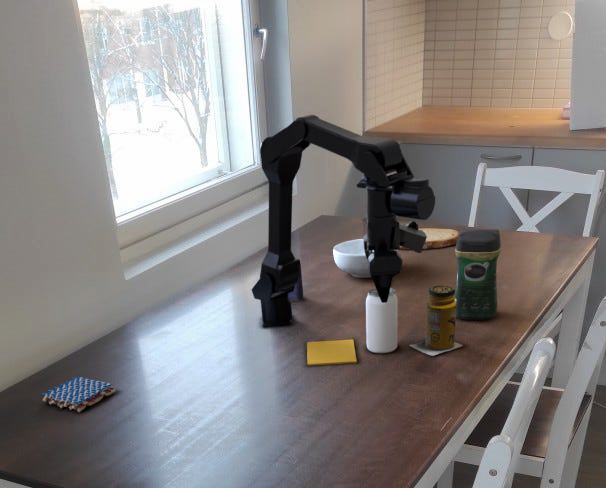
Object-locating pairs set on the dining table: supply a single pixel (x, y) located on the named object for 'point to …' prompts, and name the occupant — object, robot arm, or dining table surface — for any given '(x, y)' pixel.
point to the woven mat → (78, 393)
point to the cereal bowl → (352, 258)
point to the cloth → (331, 352)
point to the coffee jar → (477, 273)
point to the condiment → (439, 321)
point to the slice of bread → (438, 238)
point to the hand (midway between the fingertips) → (382, 294)
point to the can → (381, 322)
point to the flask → (297, 289)
